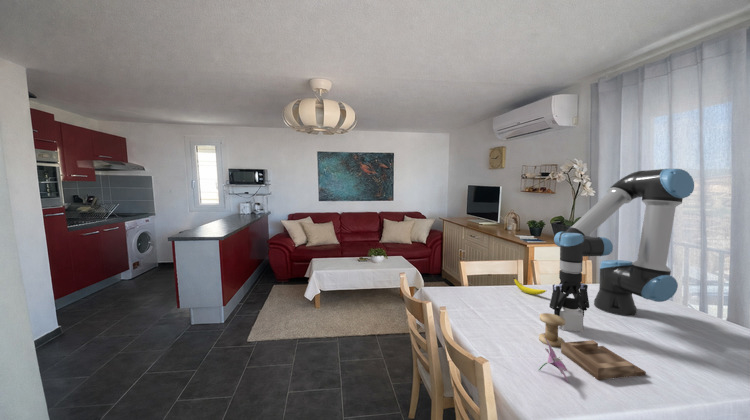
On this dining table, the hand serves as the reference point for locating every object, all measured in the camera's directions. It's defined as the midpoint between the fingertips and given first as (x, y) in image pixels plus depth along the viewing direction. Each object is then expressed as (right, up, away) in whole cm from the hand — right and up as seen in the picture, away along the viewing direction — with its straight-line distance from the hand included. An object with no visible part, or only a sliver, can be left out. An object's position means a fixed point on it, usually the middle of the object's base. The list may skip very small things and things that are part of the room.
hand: (568, 324), depth 113 cm
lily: (-25, -3, -29) cm, 38 cm away
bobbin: (-14, -2, -10) cm, 18 cm away
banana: (+4, +1, +37) cm, 37 cm away
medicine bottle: (0, -1, 0) cm, 1 cm away
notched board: (-6, -3, -24) cm, 25 cm away
